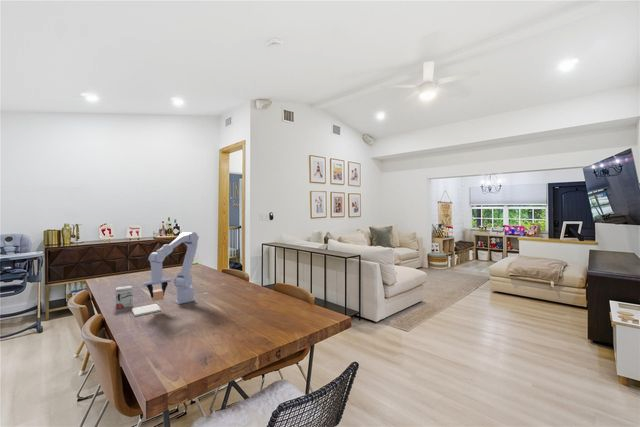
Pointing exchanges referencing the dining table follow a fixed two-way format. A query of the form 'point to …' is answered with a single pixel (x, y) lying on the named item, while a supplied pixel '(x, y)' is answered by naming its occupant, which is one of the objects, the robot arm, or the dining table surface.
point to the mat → (146, 309)
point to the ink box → (124, 297)
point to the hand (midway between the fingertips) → (157, 296)
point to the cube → (157, 295)
